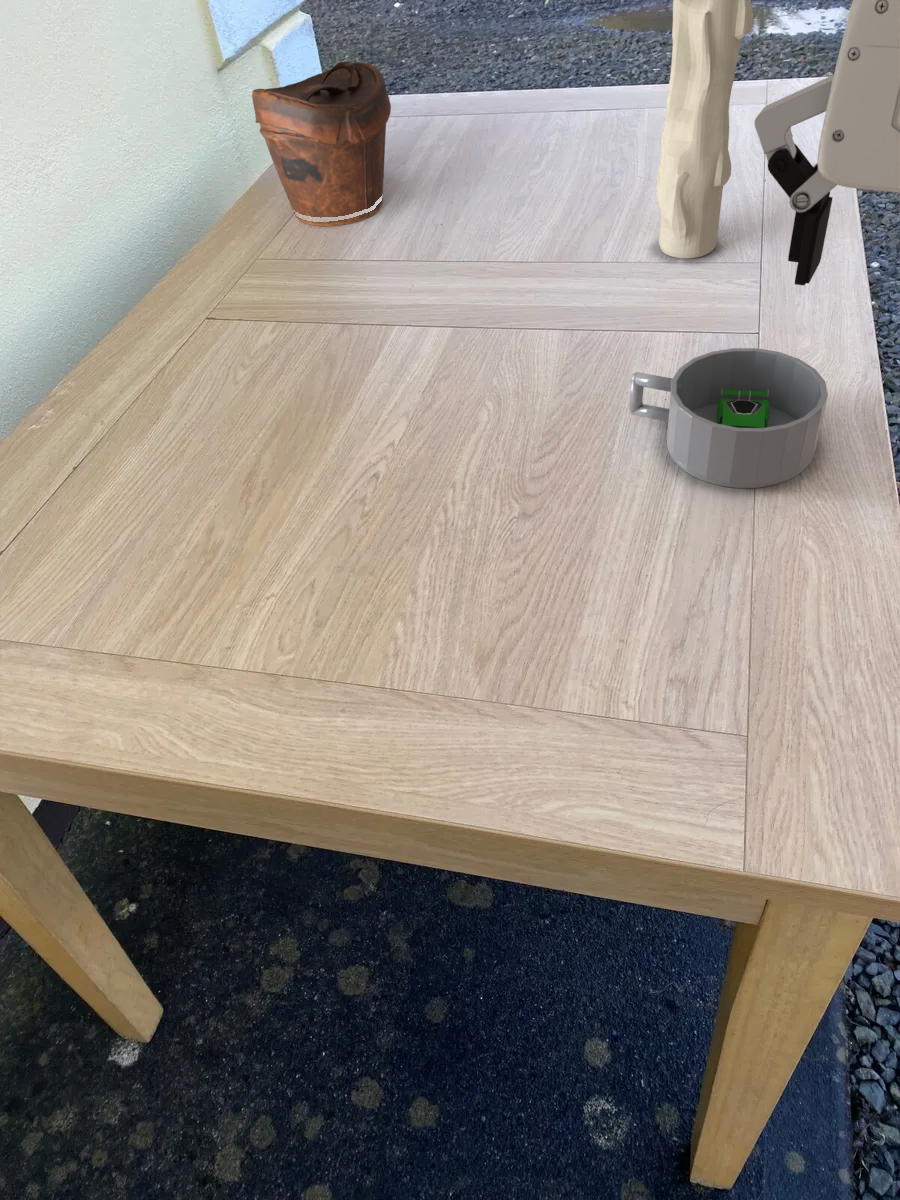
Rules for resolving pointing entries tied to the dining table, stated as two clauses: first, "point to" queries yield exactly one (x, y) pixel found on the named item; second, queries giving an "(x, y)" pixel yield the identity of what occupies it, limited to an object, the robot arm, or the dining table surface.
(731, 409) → the toy car
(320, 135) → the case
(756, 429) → the measuring cup
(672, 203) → the dripping pillar candle
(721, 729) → the dining table surface
